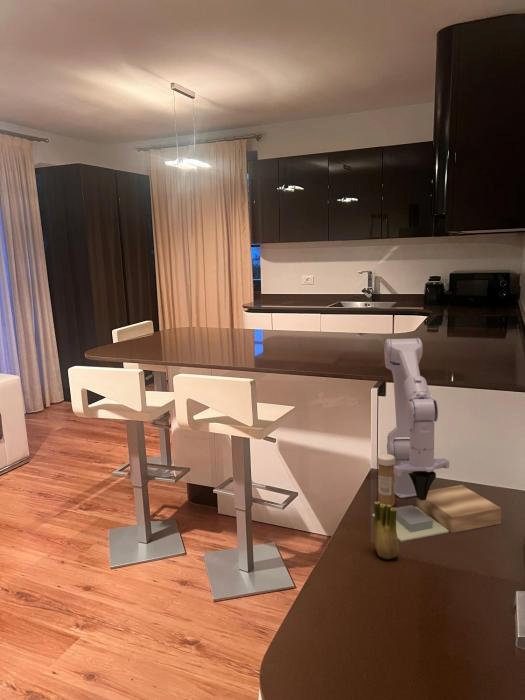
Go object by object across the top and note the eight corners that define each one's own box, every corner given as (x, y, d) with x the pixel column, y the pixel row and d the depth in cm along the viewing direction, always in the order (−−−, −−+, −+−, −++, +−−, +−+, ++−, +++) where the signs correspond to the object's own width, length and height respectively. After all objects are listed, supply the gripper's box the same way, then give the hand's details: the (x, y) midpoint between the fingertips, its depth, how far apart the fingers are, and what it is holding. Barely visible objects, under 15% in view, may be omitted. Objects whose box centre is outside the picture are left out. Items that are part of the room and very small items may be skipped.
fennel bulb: (371, 550, 114) (370, 500, 113) (391, 547, 115) (391, 497, 114) (381, 564, 109) (381, 511, 107) (402, 561, 110) (403, 508, 108)
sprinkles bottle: (398, 503, 137) (398, 455, 135) (389, 508, 134) (389, 460, 132) (383, 498, 141) (383, 452, 139) (374, 503, 138) (374, 456, 136)
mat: (372, 515, 131) (372, 514, 131) (416, 507, 134) (416, 506, 134) (400, 541, 117) (400, 540, 117) (448, 532, 121) (449, 530, 121)
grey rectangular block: (412, 505, 131) (412, 512, 131) (391, 508, 129) (391, 515, 129) (432, 520, 122) (432, 528, 122) (410, 524, 120) (410, 532, 121)
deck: (416, 506, 135) (416, 492, 134) (461, 498, 139) (461, 485, 138) (452, 533, 121) (452, 517, 120) (500, 523, 124) (501, 508, 124)
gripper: (404, 455, 118) (404, 509, 120) (457, 447, 122) (456, 500, 124) (389, 446, 125) (389, 497, 127) (439, 439, 129) (439, 489, 131)
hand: (421, 498), depth 126 cm, fingers closed
